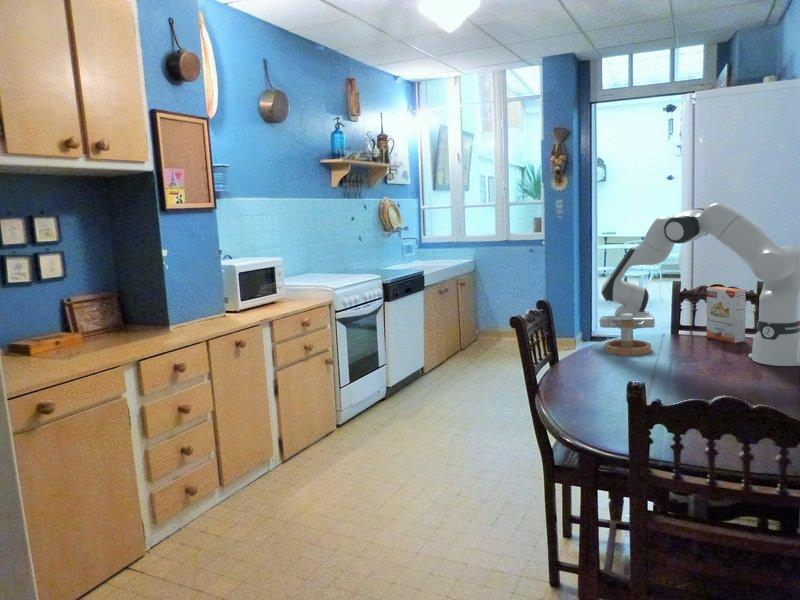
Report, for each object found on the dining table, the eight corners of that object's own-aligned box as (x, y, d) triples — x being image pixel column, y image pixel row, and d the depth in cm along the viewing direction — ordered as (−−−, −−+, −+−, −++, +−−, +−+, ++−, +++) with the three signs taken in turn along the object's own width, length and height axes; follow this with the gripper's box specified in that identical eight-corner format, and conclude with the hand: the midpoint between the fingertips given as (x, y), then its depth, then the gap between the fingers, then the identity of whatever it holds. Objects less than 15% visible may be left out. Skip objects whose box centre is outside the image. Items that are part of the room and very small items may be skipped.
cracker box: (705, 337, 246) (705, 287, 243) (717, 336, 248) (717, 285, 245) (733, 343, 233) (734, 290, 230) (745, 342, 234) (746, 289, 232)
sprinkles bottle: (626, 346, 236) (625, 312, 234) (636, 347, 232) (635, 313, 230) (618, 348, 233) (617, 314, 232) (628, 349, 230) (627, 315, 228)
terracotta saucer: (624, 344, 244) (624, 338, 244) (660, 350, 230) (660, 344, 230) (596, 350, 236) (595, 344, 235) (631, 357, 222) (631, 351, 221)
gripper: (599, 311, 247) (598, 317, 234) (653, 311, 240) (655, 317, 227) (599, 326, 247) (599, 333, 235) (653, 326, 241) (655, 333, 228)
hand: (627, 325), depth 231 cm, fingers open, 8 cm apart
